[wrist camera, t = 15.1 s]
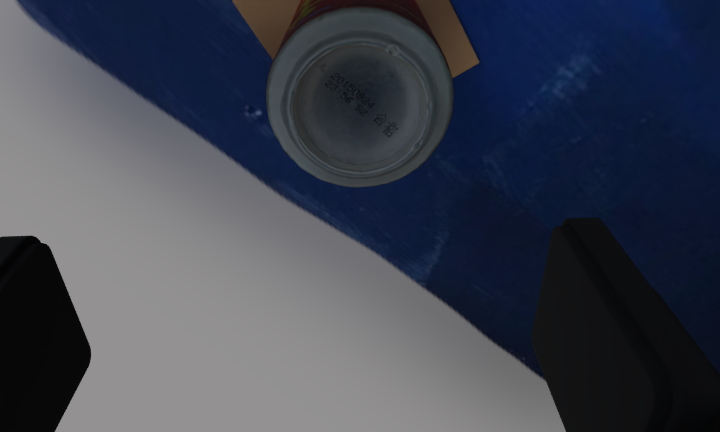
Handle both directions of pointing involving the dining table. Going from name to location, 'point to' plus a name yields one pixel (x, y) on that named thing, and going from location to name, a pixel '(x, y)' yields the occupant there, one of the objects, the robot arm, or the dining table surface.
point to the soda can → (359, 90)
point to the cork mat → (279, 3)
